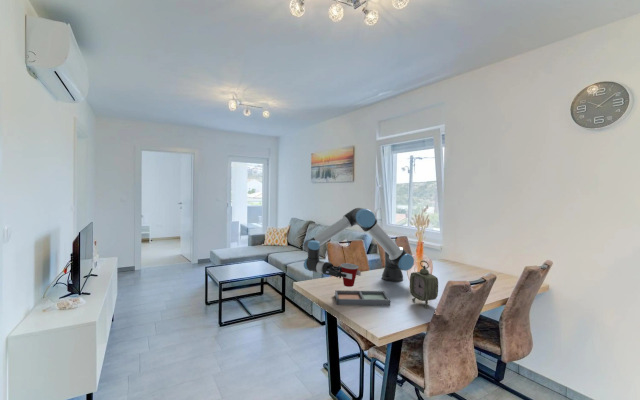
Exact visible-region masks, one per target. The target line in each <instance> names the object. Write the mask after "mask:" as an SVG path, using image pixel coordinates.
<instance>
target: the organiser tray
mask: <svg viewBox="0 0 640 400" xmlns="http://www.w3.org/2000/svg"><path fill="white" fill-rule="evenodd" d="M334 297H335V301H336V302H335V303H336V305H337V306H340V305H341V306H391V299H390V298H389V296H388V294H387V293H386V292H385V290H345V289H343V290H337V289H336V290H334Z"/></svg>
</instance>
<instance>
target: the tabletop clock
mask: <svg viewBox="0 0 640 400" xmlns="http://www.w3.org/2000/svg"><path fill="white" fill-rule="evenodd" d="M419 263H420V267H421V268H420V270H419V271H417V272H416V271H415V272H413V271H412V272H411V273H410V276H409V293H410V295H411V296H412V297H414V298H412V301H413V302H416V299H417V300H419V301H421V302H424V303H425V305H424V307H425V309H427V308H429V307H428V303H429V302H428V301H434V300H437V298H438V296H439V279H438V277H437V276H435V275H434V274H432V273H430V272H429V269H428V268H429V267H430V266H429V265H430V264H429V263H428V262H427V261H426V260H421V261H420V262H419ZM422 263H425V264H426V265H427V267H426V265H422Z"/></svg>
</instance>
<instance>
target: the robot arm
mask: <svg viewBox="0 0 640 400" xmlns="http://www.w3.org/2000/svg"><path fill="white" fill-rule="evenodd" d="M354 226H359V228H360V229H362V231H363V232H365V233H368V234H369V235H370V236H371V237H372V238H373V240H375V241H376V242H377V244H378V245H379V246H380V247H381V248H382V249H383V250H384V269H383V272H382V275H381V278H382V279H383V280H385V281H388V282H402V281H403V280H404V274H403V271H405V272H406V271H410V270H411V269H412V268H413V266H414V262H415V259H414V257H413V256H412V255H411V254H410V253H407V251H406V250H405V249H404V248H403V247H401V246H398V245H397V243H395V241H394V240H393V239H392V238H391V237H390V235H388V234H387V232H385V230H384V229H383V228H382V227H381V225H379V224H378V219H377V218H376V215H375V213H374V212H373V211H372V210H370V209H368V208H362V207H356V208H355V207H354V208H353V209H351V210H349V211H348V212H347V213H345V214H344V215H342V218H340V219H339V220H337V221H336V222H335V223H333V224H331V225H330V226H328V227H326V228H325V229H324V230H322V231H321V232H318V234H316V235H315V236H313V237H311V238H310V239H306V240H305V241H303V244H302V246H303V249H304V250H305V251H306V252H307V258H305V260H304V261H303V268H304V269H305V270H307V271H310V272H313V273H319V274H320V275H326V276H333V277H336V278H339V279H342V278H343V277H344V278H348V279H352V274H349V273H344V272H342V268H341V265H338V266H337V265H334V264H333V263H332V262H328V261H325V260H320V248H321V246H322V245H324V244H325V243H326V242H327V243H328V241H330V240H331V239H333V238H334V237H335V236H338V235H339V234H340V233H342V232H344V231H345V230H346V229H348V228H352V227H354ZM361 275H362V271H361V270H359V269H358V270H357V273H356V276H361Z"/></svg>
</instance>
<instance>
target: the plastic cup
mask: <svg viewBox="0 0 640 400" xmlns="http://www.w3.org/2000/svg"><path fill="white" fill-rule="evenodd" d="M340 266H341V268H342V272H344V273H349V274H352V279H348V278H344V277H342V281H343V283H342V284H343V286H345V287H348V288H350V287H351V288H352V287H354V286H355V280H356V277H357V275H356V273H357V270H358V271H359V268H360V267H359V265H357V264H354V263H349V262H344V263H340ZM342 272H341V273H342Z"/></svg>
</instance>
